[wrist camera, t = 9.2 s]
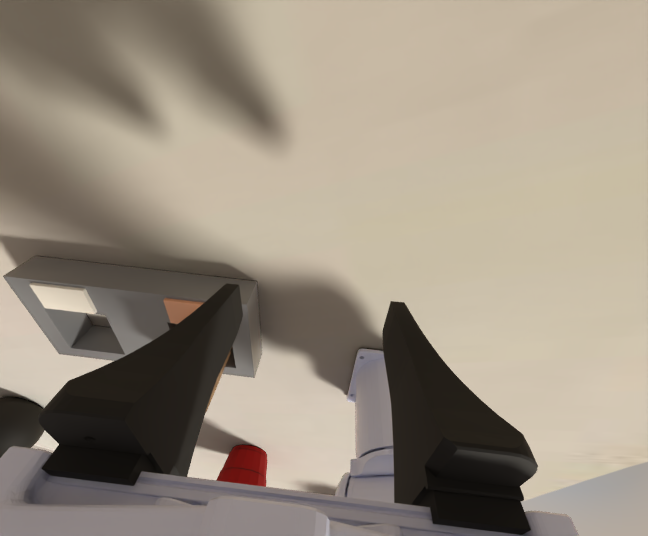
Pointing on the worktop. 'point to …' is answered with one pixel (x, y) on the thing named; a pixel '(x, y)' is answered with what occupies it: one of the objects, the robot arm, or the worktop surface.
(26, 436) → the cola bottle
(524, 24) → the worktop surface
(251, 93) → the worktop surface
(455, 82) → the worktop surface
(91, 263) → the socket block
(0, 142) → the worktop surface
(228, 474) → the plastic cup
